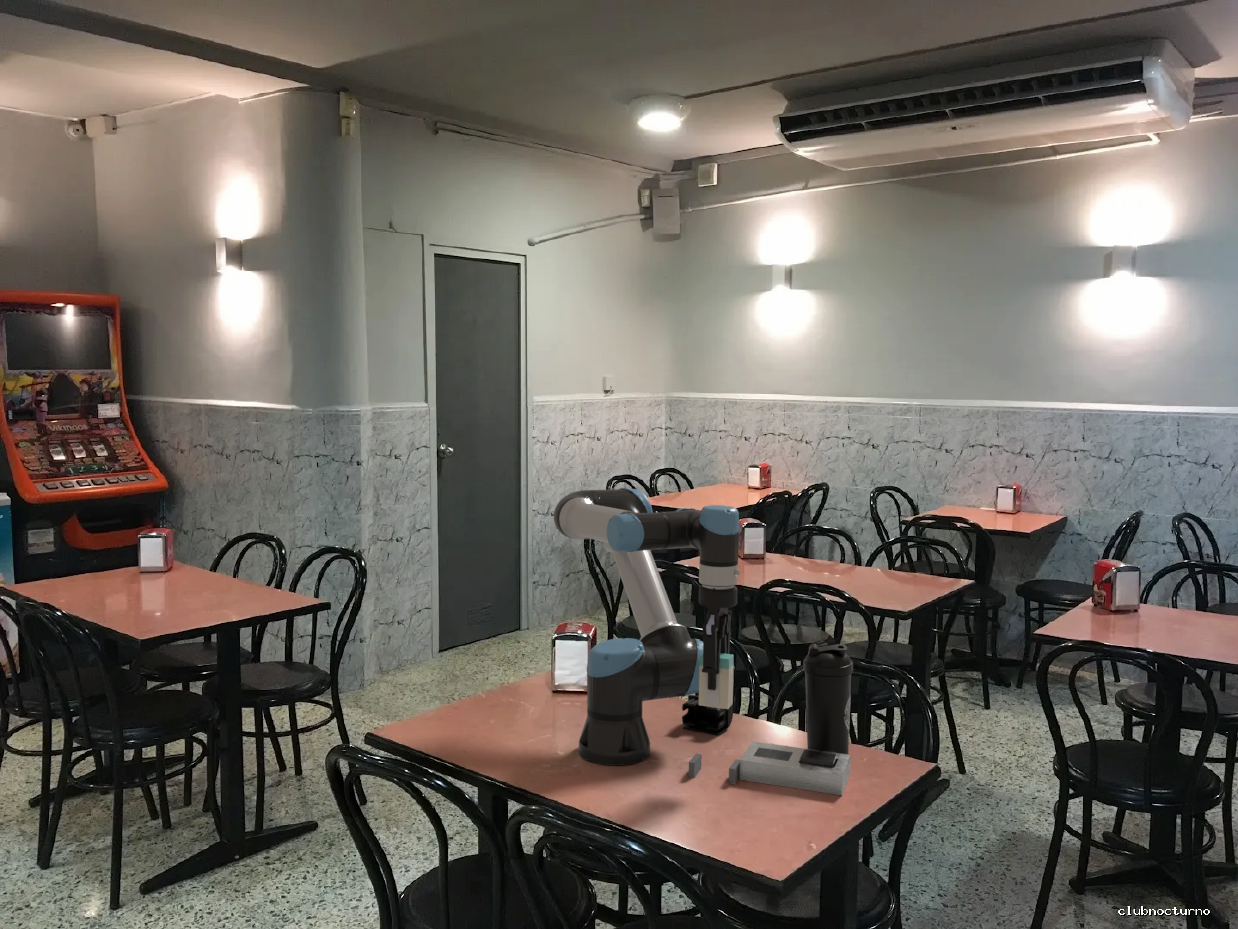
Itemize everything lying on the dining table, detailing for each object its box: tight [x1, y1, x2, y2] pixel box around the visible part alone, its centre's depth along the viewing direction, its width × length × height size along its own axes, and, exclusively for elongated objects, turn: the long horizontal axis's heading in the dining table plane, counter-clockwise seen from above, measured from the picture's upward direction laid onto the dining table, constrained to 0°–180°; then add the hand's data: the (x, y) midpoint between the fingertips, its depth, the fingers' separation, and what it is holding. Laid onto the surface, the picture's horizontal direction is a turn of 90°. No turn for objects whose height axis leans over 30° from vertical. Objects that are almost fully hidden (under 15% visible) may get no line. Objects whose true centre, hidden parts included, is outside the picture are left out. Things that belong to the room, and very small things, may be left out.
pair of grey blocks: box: [688, 752, 740, 785], centre depth 196 cm, size 9×5×3 cm, turn 69°
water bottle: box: [802, 643, 854, 755], centre depth 208 cm, size 10×10×23 cm
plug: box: [698, 653, 735, 709], centre depth 195 cm, size 6×4×10 cm, turn 69°
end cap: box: [681, 694, 734, 737], centre depth 223 cm, size 10×7×7 cm
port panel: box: [738, 740, 852, 796], centre depth 196 cm, size 20×11×5 cm, turn 69°
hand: (715, 701), depth 195 cm, fingers closed on plug, 3 cm apart
